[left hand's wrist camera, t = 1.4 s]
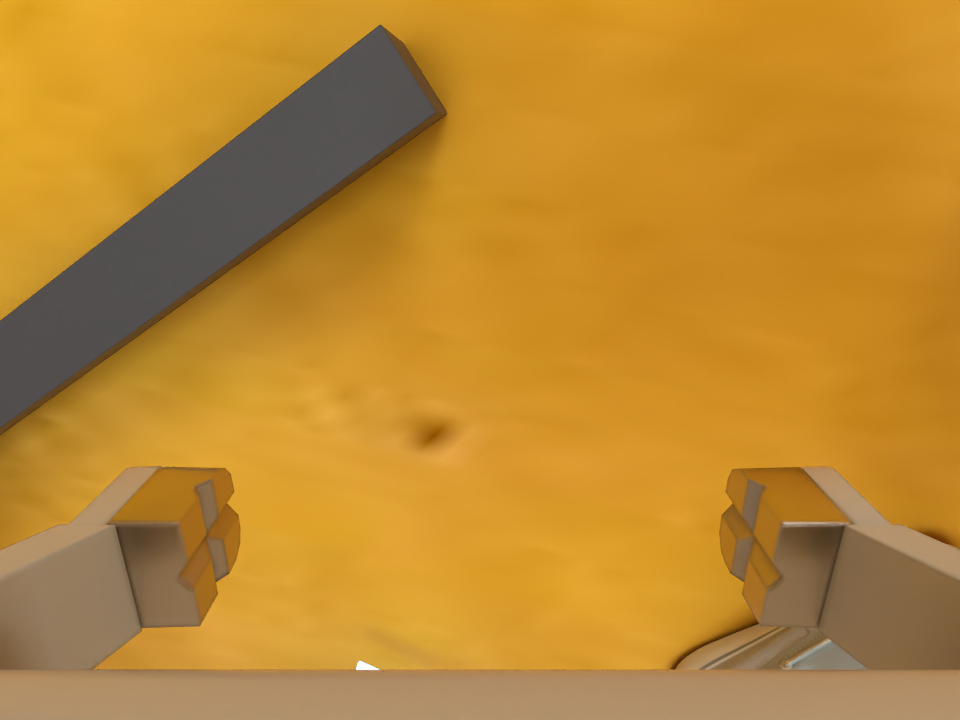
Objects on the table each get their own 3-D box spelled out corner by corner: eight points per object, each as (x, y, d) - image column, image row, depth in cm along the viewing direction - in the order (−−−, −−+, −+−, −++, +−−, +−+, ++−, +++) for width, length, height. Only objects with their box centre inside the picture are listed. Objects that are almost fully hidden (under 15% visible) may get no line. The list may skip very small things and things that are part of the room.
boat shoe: (981, 574, 47) (1085, 671, 39) (717, 732, 54) (758, 843, 46) (916, 499, 45) (1012, 586, 37) (649, 674, 52) (679, 780, 43)
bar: (402, 42, 35) (380, 23, 28) (447, 113, 36) (436, 112, 29) (-184, 490, 47) (-301, 554, 40) (-134, 531, 48) (-239, 600, 41)
